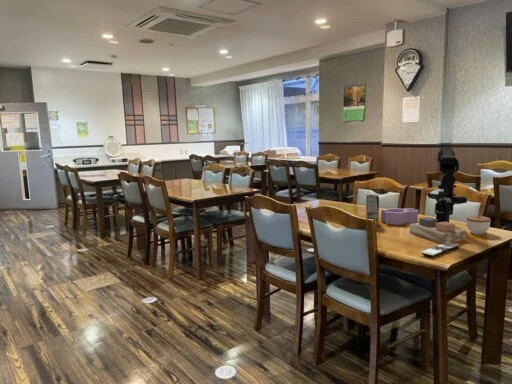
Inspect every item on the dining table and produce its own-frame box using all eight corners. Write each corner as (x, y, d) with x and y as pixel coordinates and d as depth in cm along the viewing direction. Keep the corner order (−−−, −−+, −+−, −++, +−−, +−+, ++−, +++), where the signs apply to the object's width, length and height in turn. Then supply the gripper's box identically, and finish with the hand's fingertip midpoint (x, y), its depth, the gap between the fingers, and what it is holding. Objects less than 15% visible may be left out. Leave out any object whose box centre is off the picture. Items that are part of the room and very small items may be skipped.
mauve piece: (411, 218, 233) (411, 207, 231) (421, 223, 220) (422, 211, 219) (378, 220, 231) (379, 208, 230) (387, 225, 219) (388, 213, 218)
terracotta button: (444, 229, 192) (445, 221, 192) (454, 232, 187) (455, 224, 186) (435, 230, 190) (435, 222, 190) (444, 233, 185) (445, 225, 184)
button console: (430, 229, 207) (431, 221, 206) (464, 239, 186) (465, 230, 186) (409, 232, 202) (409, 224, 202) (442, 243, 182) (442, 234, 181)
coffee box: (378, 225, 219) (379, 197, 216) (367, 224, 220) (367, 197, 218) (377, 221, 228) (377, 194, 225) (365, 221, 229) (366, 194, 226)
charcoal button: (428, 224, 203) (428, 217, 202) (437, 227, 197) (437, 219, 196) (419, 225, 201) (419, 218, 200) (427, 228, 195) (428, 220, 194)
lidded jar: (474, 229, 205) (475, 211, 203) (494, 233, 195) (495, 215, 194) (461, 231, 201) (461, 214, 199) (480, 236, 191) (481, 218, 189)
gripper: (419, 182, 191) (418, 212, 193) (449, 186, 173) (448, 220, 176) (437, 180, 194) (436, 210, 197) (468, 185, 177) (466, 218, 180)
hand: (445, 214), depth 187 cm, fingers closed
